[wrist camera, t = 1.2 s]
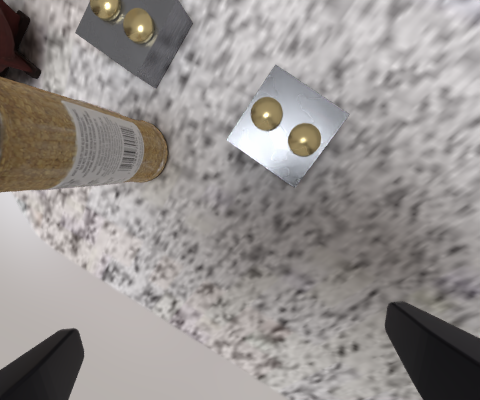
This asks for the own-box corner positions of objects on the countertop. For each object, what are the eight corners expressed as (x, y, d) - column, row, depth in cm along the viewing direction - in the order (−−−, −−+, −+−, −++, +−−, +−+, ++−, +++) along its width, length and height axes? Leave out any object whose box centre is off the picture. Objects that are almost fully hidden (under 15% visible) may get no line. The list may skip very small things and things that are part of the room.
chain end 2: (340, 122, 16) (351, 112, 14) (293, 185, 17) (294, 188, 15) (277, 79, 17) (275, 61, 14) (234, 143, 18) (224, 139, 15)
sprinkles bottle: (125, 112, 19) (-236, -18, 6) (179, 135, 18) (-84, 50, 5) (107, 169, 20) (-246, 168, 7) (158, 193, 19) (-114, 242, 6)
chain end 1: (192, 23, 17) (174, -6, 15) (156, 88, 18) (132, 73, 16) (135, -16, 18) (107, -51, 15) (102, 50, 19) (70, 29, 16)
